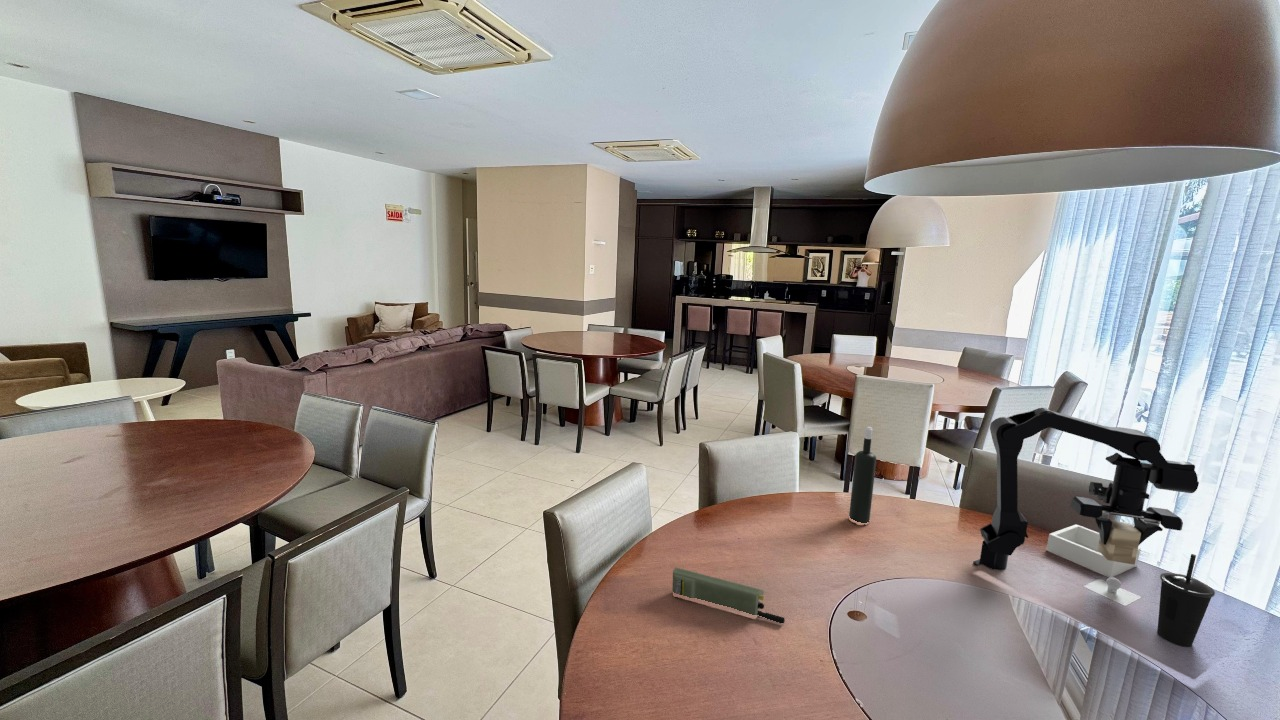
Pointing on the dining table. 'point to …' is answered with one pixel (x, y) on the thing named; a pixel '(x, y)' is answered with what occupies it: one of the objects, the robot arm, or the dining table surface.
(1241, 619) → the dining table surface
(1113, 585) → the stud plate
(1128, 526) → the wooden post
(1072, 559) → the white bin
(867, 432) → the wine bottle
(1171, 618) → the drinking cup
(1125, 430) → the robot arm
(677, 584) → the handheld radio
